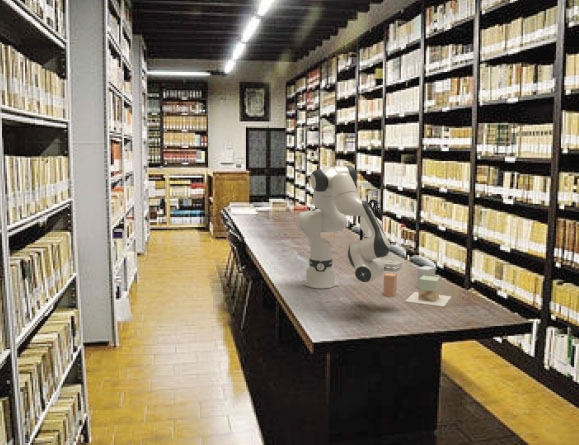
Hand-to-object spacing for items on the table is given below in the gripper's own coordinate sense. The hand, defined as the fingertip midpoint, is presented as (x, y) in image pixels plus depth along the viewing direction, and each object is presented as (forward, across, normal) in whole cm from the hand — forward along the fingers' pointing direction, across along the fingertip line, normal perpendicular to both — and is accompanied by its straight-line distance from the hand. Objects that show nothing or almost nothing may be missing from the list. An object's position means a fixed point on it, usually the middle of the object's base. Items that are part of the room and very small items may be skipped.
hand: (383, 261), depth 259 cm
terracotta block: (+12, 0, +19) cm, 23 cm away
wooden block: (+12, -19, +19) cm, 29 cm away
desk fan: (+114, +46, +18) cm, 124 cm away
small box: (+34, -12, +19) cm, 41 cm away
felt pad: (+12, -19, +19) cm, 29 cm away
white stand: (+76, +32, +19) cm, 84 cm away
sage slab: (+12, -19, +14) cm, 26 cm away
